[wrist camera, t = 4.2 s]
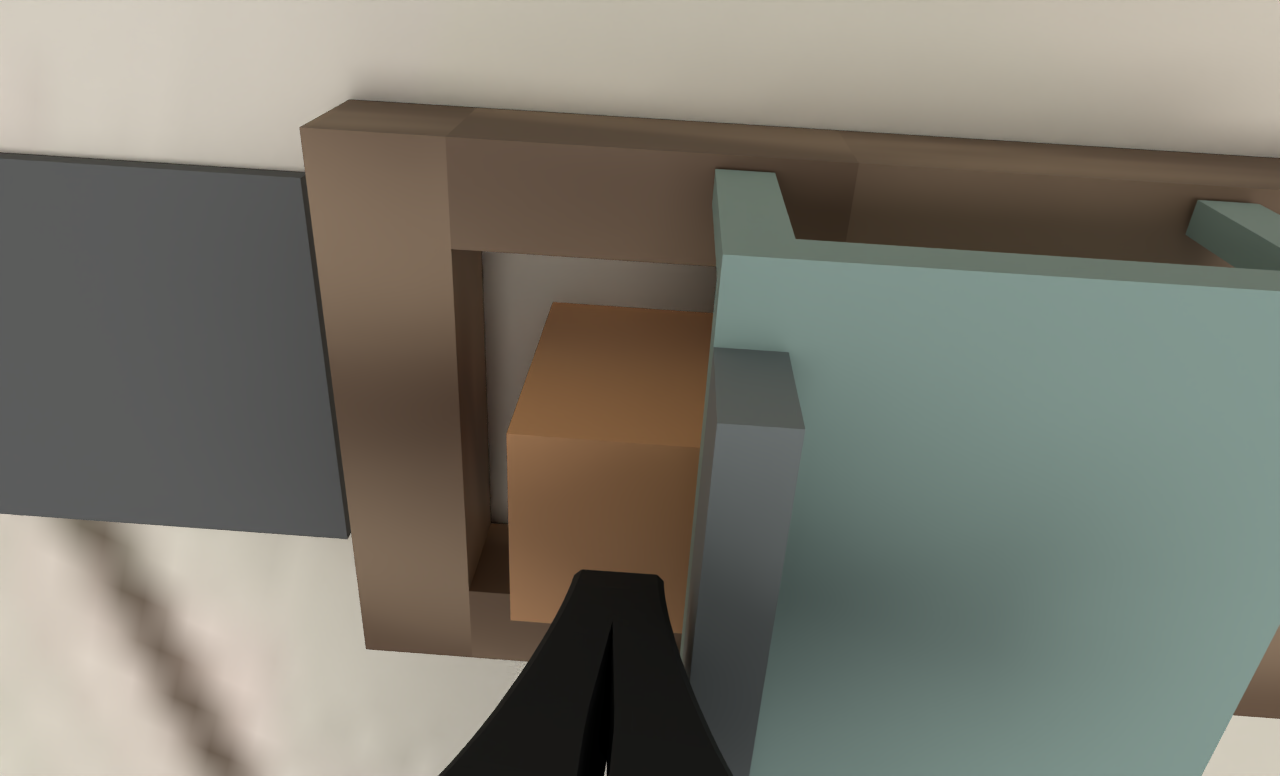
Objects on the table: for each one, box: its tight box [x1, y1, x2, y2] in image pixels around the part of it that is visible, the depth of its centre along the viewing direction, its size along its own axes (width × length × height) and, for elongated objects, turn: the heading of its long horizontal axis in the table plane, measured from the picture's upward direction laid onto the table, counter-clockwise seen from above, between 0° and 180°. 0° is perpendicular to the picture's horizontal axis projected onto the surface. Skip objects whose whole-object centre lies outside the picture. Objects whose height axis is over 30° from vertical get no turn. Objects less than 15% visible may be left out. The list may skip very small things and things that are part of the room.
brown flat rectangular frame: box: [300, 100, 1280, 719], centre depth 19 cm, size 12×22×2 cm, turn 87°
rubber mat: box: [0, 153, 351, 539], centre depth 20 cm, size 9×9×1 cm
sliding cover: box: [680, 169, 1280, 776], centre depth 15 cm, size 12×9×6 cm
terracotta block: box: [506, 302, 713, 633], centre depth 18 cm, size 4×4×6 cm
